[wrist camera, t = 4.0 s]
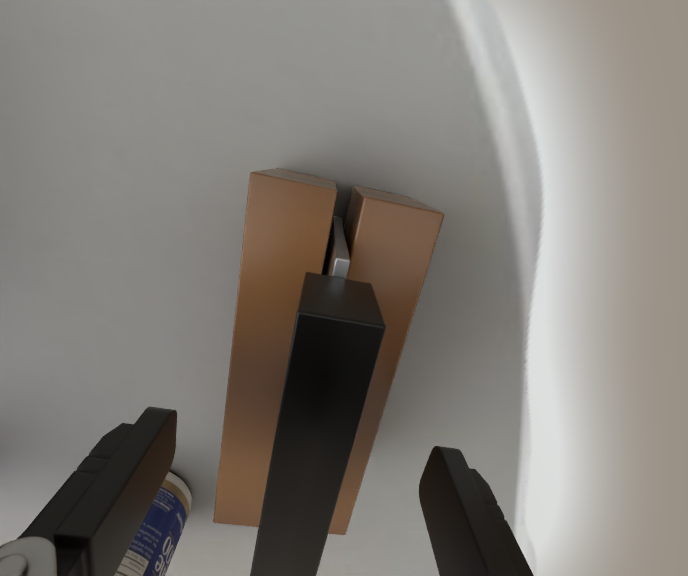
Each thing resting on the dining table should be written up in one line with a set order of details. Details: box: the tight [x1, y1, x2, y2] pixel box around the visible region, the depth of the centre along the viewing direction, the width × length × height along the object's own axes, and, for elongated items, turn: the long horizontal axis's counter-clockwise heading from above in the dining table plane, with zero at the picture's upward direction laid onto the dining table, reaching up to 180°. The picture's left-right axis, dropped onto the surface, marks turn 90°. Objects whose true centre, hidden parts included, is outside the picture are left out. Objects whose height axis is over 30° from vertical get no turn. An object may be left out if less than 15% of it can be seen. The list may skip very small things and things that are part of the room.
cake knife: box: [250, 216, 386, 576], centre depth 13 cm, size 12×2×10 cm, turn 168°
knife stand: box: [213, 168, 444, 535], centre depth 15 cm, size 15×6×5 cm, turn 168°
